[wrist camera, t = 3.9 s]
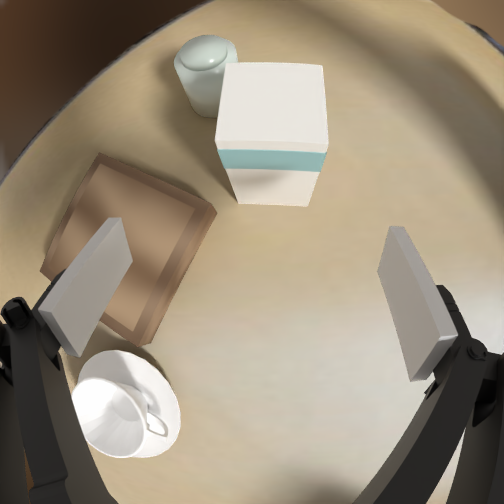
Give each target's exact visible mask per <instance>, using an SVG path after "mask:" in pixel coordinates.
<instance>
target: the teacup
mask: <svg viewBox="0 0 504 504" xmlns="http://www.w3.org/2000/svg"><path fill="white" fill-rule="evenodd" d="M71 398H72V401H73V404H74V407H75V411H76V414H77V417H78V420H79V423H80V426H81V429H82V431H83V434H84V437H85V440H86V441H87V442H88V443H89V444H90V445H91V446H93V447H94V448H96V449H97V450H98V451H100V452H102V453H104V454H106V455H108V456H112V457H117V458H127V457H130V456H132V457H142V458H148V457H152V456H156V455H159V454H161V453H163V452H164V451H166V450H168V449H169V448H170V447H171V445H172V444H173V443H174V442H175V440H176V439H177V436H178V433H179V430H180V415H181V413H180V409H179V405H178V401H177V397H176V396H175V394H174V392H173V390H172V388H171V386H170V384H169V383H168V381H167V380H166V379H165V378H164V377H163V375H162V374H161V373H160V372H159V371H158V369H156V368H155V367H154V366H152V365H151V364H150V363H149V362H147V361H146V360H145V359H143V358H141V357H139V356H137V355H135V354H133V353H131V352H126V351H121V350H108V351H102V352H100V353H98V354H96V355H93V356H92V357H91V358H90V359H89V360H88V361H87V362H86V363H85V364H84V366H83V368H82V370H81V372H80V374H79V378H78V383H77V385H76V386H75V388H74V389H73V392H72V395H71Z"/></svg>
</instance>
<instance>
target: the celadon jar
mask: <svg viewBox="0 0 504 504" xmlns="http://www.w3.org/2000/svg"><path fill="white" fill-rule="evenodd" d="M226 63H238V59H237V53H236V48H235V46H234V45H233V44H232V43H231V42H230V41H228V40H226V39H224V38H221V37H219V36H215V35H203V36H198V37H195V38H193V39H191V40H189V41H188V42H186V43H185V44H184V45H183V46H182V48H181V49H180V51H179V52H178V53H177V55H176V56H175V59H174V67H175V69H176V71H177V74H178V76H179V78H180V81H181V83H182V85H183V88H184V90H185V92H186V95H187V97H188V99H189V102H190V104H191V106H192V108H193V110H194V111H195V112H196V113H197V114H199V115H200V116H203V117H207V118H218V113H219V106H220V99H221V92H222V86H223V79H224V73H225V67H226Z"/></svg>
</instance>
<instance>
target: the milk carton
mask: <svg viewBox="0 0 504 504" xmlns="http://www.w3.org/2000/svg"><path fill="white" fill-rule="evenodd" d="M215 143H216V145H217V151H218V153H219V156H220V159H221V161H222V164H223V166H224V169H226V172H227V174H228V177H229V180H230V182H231V185H232V188H233V190H234V193H235V196H236V198H237V201H238V203H240V204H269V205H291V206H308V204H309V201H310V198H311V195H312V192H313V189H314V186H315V184H316V181H317V178H318V175H319V172H321V169H322V166H323V163H324V160H325V157H326V150H327V147H328V127H327V113H326V100H325V88H324V77H323V68H322V65H312V64H297V63H270V62H246V63H226V67H225V73H224V79H223V86H222V92H221V99H220V106H219V113H218V120H217V128H216V135H215Z"/></svg>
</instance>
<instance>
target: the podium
mask: <svg viewBox="0 0 504 504" xmlns="http://www.w3.org/2000/svg"><path fill="white" fill-rule="evenodd" d="M216 215H217V212H216V210H215V209H214V207H213V206H212V204H211V203H209V202H207V201H205V200H203V199H201V198H199V197H196V196H194V195H192V194H190V193H188V192H186V191H184V190H181V189H179V188H177V187H175V186H173V185H171V184H168V183H166V182H164V181H162V180H160V179H157V178H155V177H153V176H151V175H149V174H146V173H144V172H142V171H140V170H138V169H135V168H133V167H131V166H129V165H126V164H124V163H122V162H120V161H117V160H115V159H113V158H111V157H108V156H106V155H104V154H102V153H99V154H98V155H97V157H96V159H95V160H94V162H93V164H92V165H91V167H90V169H89V170H88V172H87V174H86V176H85V177H84V179H83V181H82V183H81V184H80V186H79V188H78V190H77V192H76V194H75V195H74V197H73V199H72V201H71V203H70V205H69V207H68V209H67V211H66V213H65V215H64V217H63V219H62V221H61V223H60V225H59V227H58V230H57V232H56V234H55V236H54V238H53V241H52V243H51V245H50V248H49V250H48V252H47V255H46V257H45V259H44V262H43V264H42V267H41V269H40V272H41V273H42V274H43V275H45V276H46V277H47V278H48V279H49V280H50V281H51V282H52V281H53V279H54V278H55V277H56V275H58V274H59V273H60V272H61V271H63V270H64V269H67V268H68V267H69V265H70V264H71V263H72V261H73V260H74V259H75V258H76V256H77V255H78V254H79V253H80V251H81V250H82V249H83V248H84V246H85V245H86V244H87V243H88V241H89V240H90V239H91V238H92V237H93V235H94V234H95V233H96V232H97V231H98V229H99V228H100V227H101V226H102V225H103V224H104V222H105V221H106V220H107V219H108V218H121V220H122V223H123V227H124V231H125V235H126V239H127V242H128V246H129V249H130V253H131V256H132V260H133V262H132V263H131V265H130V267H129V268H128V270H127V272H126V273H125V275H124V277H123V279H122V280H121V282H120V284H119V285H118V287H117V289H116V291H115V292H114V294H113V296H112V298H111V300H110V301H109V303H108V305H107V307H106V309H105V311H104V312H103V314H102V316H101V318H100V321H101V322H103V323H104V324H105V325H107V326H108V327H109V328H111V329H112V330H113V331H115V332H116V333H118V334H119V335H121V336H122V337H123V338H125V339H126V340H128V341H129V342H131V343H132V344H134V345H135V346H137V347H140V346H143V345H146V344H149V343H151V341H152V339H153V337H154V335H155V333H156V331H157V329H158V327H159V325H160V323H161V321H162V319H163V317H164V315H165V313H166V311H167V309H168V307H169V304H170V302H171V300H172V298H173V296H174V294H175V293H176V291H177V289H178V287H179V285H180V283H181V281H182V279H183V277H184V275H185V273H186V271H187V269H188V267H189V265H190V263H191V261H192V259H193V257H194V256H195V254H196V252H197V250H198V248H199V246H200V244H201V242H202V240H203V239H204V237H205V235H206V233H207V231H208V229H209V227H210V226H211V224H212V222H213V220H214V218H215V216H216Z"/></svg>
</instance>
